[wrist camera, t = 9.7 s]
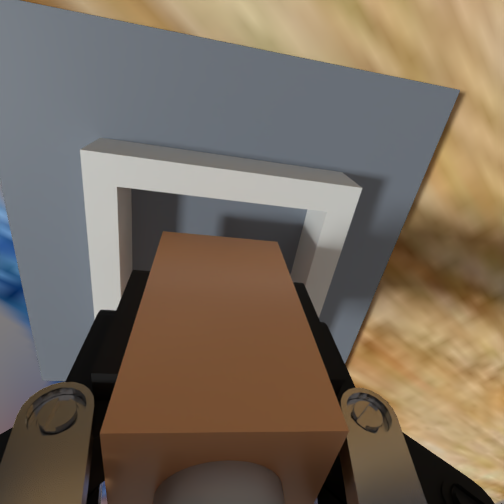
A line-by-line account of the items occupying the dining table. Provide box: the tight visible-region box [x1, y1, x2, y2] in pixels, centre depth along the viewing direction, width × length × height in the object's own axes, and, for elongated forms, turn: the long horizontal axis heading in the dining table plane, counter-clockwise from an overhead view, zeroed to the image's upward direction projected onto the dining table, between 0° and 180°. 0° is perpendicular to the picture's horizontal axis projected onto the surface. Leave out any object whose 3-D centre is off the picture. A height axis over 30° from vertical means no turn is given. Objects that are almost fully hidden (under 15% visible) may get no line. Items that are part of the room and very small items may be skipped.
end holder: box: [0, 0, 460, 381], centre depth 14 cm, size 16×16×3 cm
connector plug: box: [100, 231, 349, 504], centre depth 9 cm, size 4×4×8 cm
